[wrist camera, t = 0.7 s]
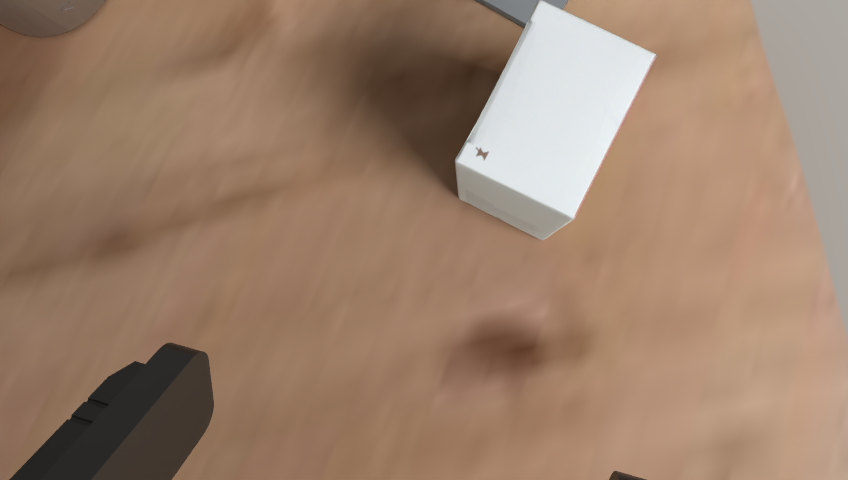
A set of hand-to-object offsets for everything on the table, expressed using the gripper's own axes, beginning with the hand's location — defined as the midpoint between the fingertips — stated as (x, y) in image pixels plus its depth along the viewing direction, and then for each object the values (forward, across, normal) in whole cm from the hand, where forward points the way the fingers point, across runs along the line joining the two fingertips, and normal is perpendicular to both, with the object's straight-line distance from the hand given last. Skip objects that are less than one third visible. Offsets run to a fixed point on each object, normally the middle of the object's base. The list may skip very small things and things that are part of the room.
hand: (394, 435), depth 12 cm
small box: (+26, -1, +6) cm, 26 cm away
